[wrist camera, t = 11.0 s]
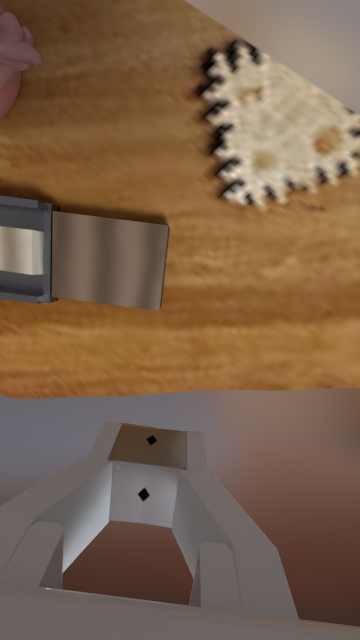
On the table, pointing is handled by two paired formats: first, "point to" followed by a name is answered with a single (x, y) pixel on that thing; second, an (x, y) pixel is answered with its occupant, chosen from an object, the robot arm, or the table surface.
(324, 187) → the table surface
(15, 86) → the balloon
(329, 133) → the table surface
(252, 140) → the table surface
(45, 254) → the box
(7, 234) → the block
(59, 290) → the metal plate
